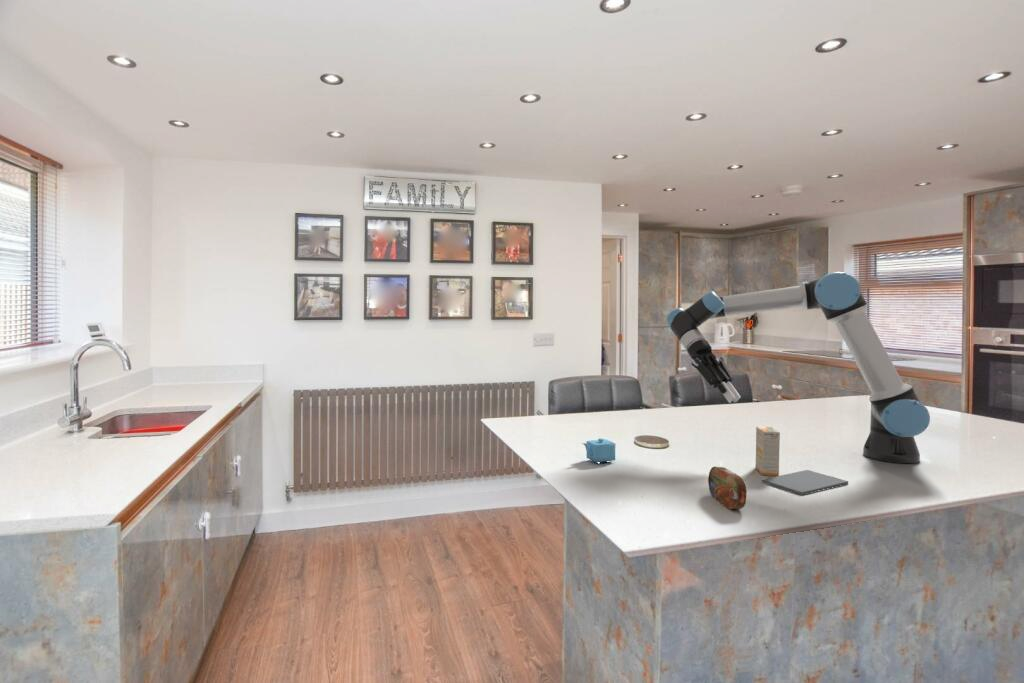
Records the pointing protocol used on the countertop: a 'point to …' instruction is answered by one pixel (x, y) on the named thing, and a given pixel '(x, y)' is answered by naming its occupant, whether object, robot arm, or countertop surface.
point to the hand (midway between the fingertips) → (735, 399)
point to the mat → (804, 482)
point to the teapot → (600, 450)
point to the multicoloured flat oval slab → (727, 487)
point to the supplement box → (767, 450)
